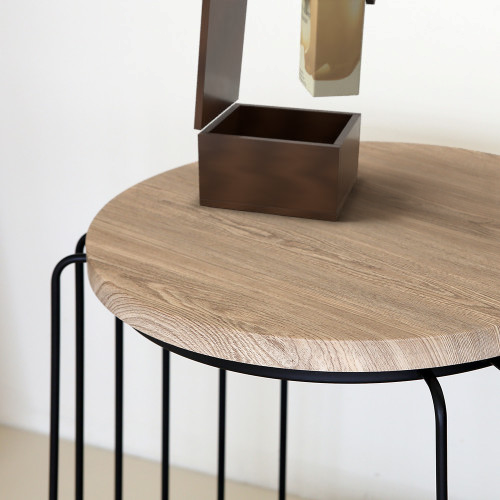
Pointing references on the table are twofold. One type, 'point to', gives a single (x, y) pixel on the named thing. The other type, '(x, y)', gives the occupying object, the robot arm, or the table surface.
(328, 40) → the cosmetic box
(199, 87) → the lid
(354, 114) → the chest
